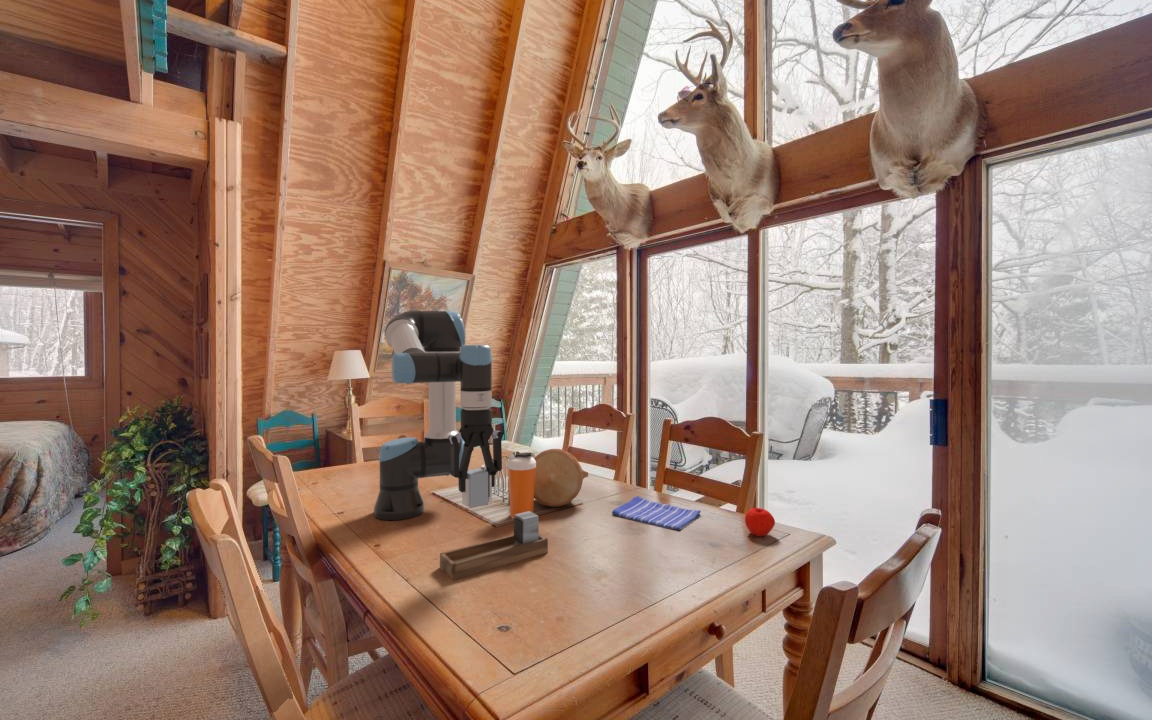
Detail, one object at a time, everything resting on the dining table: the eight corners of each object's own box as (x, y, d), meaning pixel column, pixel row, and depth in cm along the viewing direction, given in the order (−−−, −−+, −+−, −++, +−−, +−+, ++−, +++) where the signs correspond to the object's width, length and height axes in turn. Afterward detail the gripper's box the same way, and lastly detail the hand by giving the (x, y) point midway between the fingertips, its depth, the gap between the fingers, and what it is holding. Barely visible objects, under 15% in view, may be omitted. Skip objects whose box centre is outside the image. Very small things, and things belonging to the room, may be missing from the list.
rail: (439, 567, 123) (439, 528, 123) (531, 542, 139) (531, 508, 138) (452, 579, 117) (452, 539, 116) (547, 552, 132) (547, 516, 132)
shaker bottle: (531, 522, 154) (531, 456, 154) (503, 520, 156) (503, 455, 155) (539, 512, 163) (539, 450, 162) (512, 510, 165) (512, 449, 164)
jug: (511, 476, 162) (518, 465, 192) (546, 524, 161) (548, 505, 191) (561, 438, 164) (560, 432, 194) (596, 485, 163) (590, 473, 193)
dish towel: (636, 502, 175) (636, 494, 175) (702, 516, 161) (702, 507, 161) (609, 516, 161) (609, 507, 161) (679, 533, 147) (679, 523, 147)
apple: (778, 534, 145) (779, 508, 145) (767, 542, 139) (767, 515, 139) (751, 527, 150) (752, 502, 150) (739, 534, 145) (740, 508, 144)
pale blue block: (463, 503, 125) (463, 470, 125) (483, 499, 128) (482, 468, 128) (470, 507, 121) (470, 474, 121) (490, 504, 124) (490, 471, 124)
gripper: (445, 412, 116) (446, 513, 116) (516, 406, 126) (517, 500, 127) (434, 409, 122) (435, 505, 123) (503, 404, 132) (503, 492, 133)
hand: (477, 502), depth 125 cm, fingers closed on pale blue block, 5 cm apart
